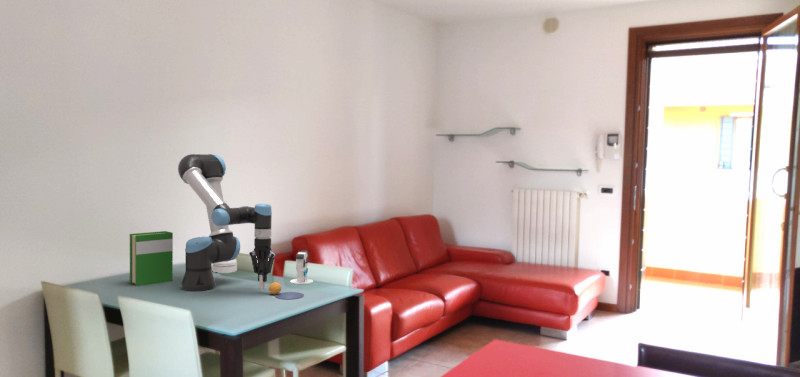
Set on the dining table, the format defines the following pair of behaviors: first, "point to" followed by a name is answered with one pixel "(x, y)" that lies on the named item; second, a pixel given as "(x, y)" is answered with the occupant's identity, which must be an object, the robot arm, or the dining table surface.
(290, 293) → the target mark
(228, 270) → the honey pot
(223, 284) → the dining table surface
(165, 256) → the hardback book
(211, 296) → the dining table surface
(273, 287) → the ball
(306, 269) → the white stand device
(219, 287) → the dining table surface
